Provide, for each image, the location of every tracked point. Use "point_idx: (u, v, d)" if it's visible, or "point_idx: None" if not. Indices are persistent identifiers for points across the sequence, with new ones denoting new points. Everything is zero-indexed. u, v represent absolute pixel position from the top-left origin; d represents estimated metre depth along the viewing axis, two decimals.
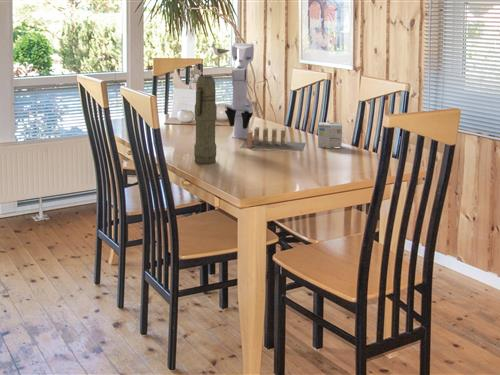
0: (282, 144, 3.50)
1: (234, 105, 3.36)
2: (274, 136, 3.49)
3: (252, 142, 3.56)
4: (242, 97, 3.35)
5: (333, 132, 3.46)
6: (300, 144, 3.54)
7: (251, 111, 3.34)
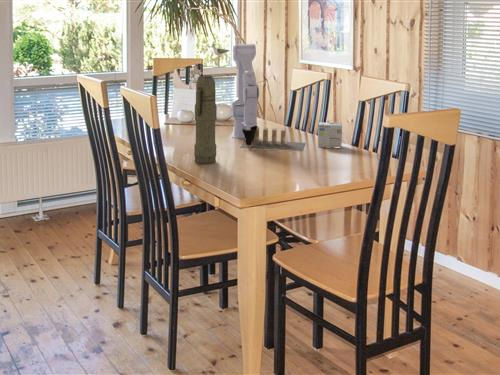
0: (282, 144, 3.50)
1: None
2: (274, 136, 3.49)
3: (252, 142, 3.56)
4: (247, 114, 3.40)
5: (333, 132, 3.46)
6: (300, 144, 3.54)
7: (247, 128, 3.37)
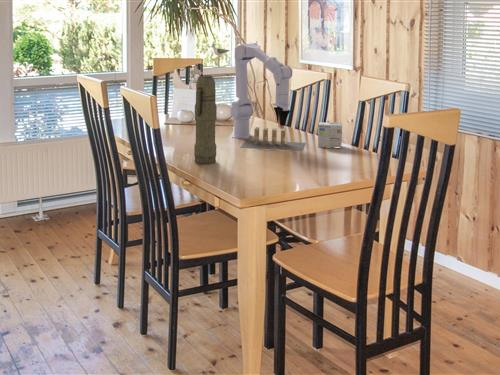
0: (282, 144, 3.50)
1: (275, 102, 3.43)
2: (274, 136, 3.49)
3: (252, 142, 3.56)
4: (281, 94, 3.40)
5: (333, 132, 3.46)
6: (300, 144, 3.54)
7: (285, 109, 3.37)
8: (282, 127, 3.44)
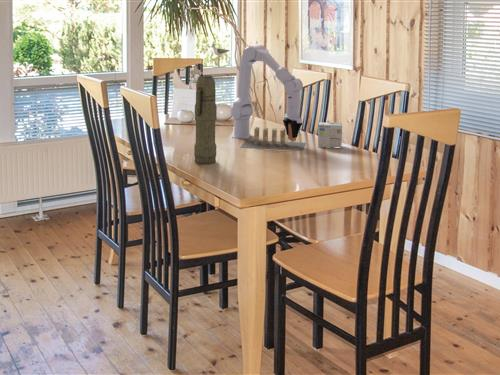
0: (282, 144, 3.50)
1: (286, 114, 3.47)
2: (274, 136, 3.49)
3: (252, 142, 3.56)
4: (294, 107, 3.44)
5: (333, 132, 3.46)
6: (300, 144, 3.54)
7: (299, 121, 3.42)
8: (294, 139, 3.49)
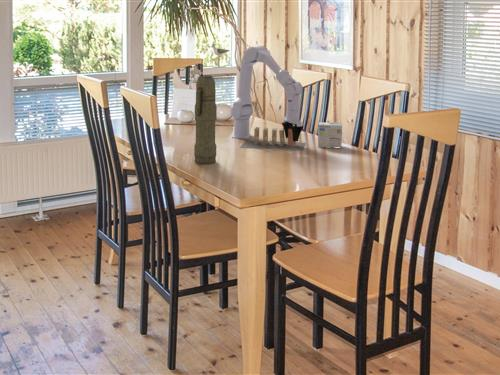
0: (282, 144, 3.50)
1: (286, 118, 3.47)
2: (274, 136, 3.49)
3: (252, 142, 3.56)
4: (293, 110, 3.45)
5: (333, 132, 3.46)
6: (300, 144, 3.54)
7: (299, 125, 3.42)
8: (294, 145, 3.49)
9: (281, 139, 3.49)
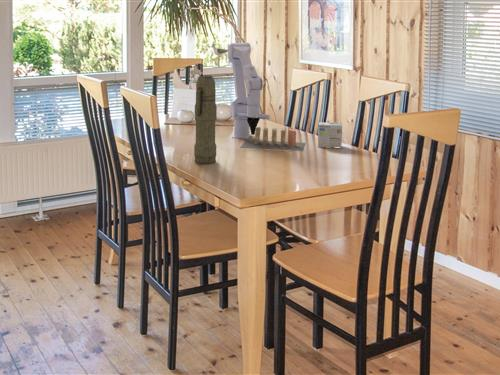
0: (282, 144, 3.50)
1: (252, 113, 3.48)
2: (274, 136, 3.49)
3: (252, 142, 3.56)
4: (259, 105, 3.48)
5: (333, 132, 3.46)
6: (300, 144, 3.54)
7: (269, 118, 3.50)
8: (294, 145, 3.49)
9: (282, 139, 3.49)
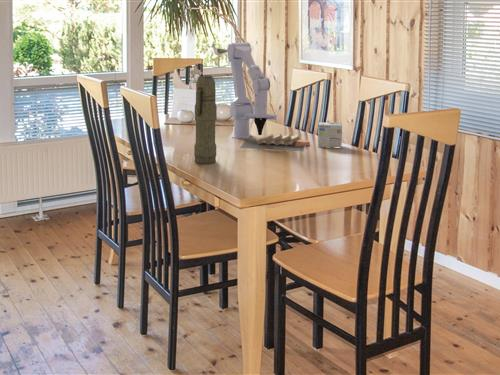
0: (286, 144, 3.49)
1: (259, 114, 3.47)
2: (284, 141, 3.49)
3: (252, 142, 3.56)
4: (266, 105, 3.48)
5: (333, 132, 3.46)
6: None
7: (276, 118, 3.49)
8: (297, 144, 3.50)
9: (290, 141, 3.49)
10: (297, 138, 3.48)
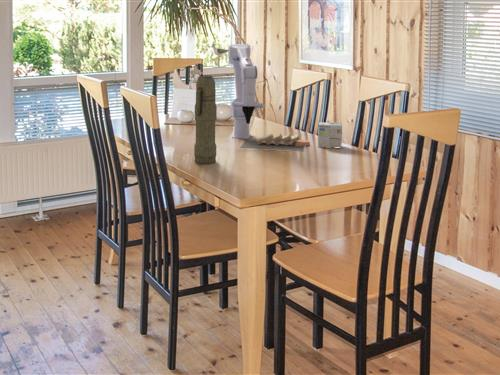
0: (286, 144, 3.49)
1: (247, 102, 3.47)
2: (284, 141, 3.49)
3: (252, 142, 3.56)
4: (254, 93, 3.47)
5: (333, 132, 3.46)
6: None
7: (264, 106, 3.49)
8: (297, 144, 3.50)
9: (290, 141, 3.49)
10: (297, 138, 3.48)
